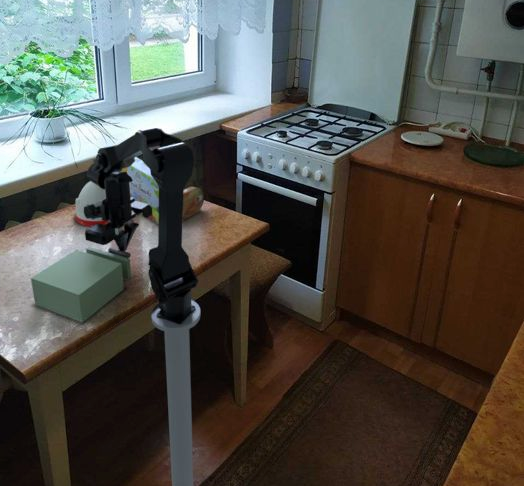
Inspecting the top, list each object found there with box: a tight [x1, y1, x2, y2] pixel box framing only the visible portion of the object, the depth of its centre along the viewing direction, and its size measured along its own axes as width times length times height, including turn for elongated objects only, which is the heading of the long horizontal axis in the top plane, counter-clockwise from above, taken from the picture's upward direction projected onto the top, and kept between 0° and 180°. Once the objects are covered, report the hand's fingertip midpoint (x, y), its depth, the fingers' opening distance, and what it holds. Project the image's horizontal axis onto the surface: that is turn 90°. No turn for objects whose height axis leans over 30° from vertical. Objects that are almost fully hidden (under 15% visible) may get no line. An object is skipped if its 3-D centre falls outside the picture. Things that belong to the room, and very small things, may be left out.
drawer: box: [85, 246, 132, 281], centre depth 118 cm, size 17×12×5 cm
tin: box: [183, 186, 205, 221], centre depth 152 cm, size 15×3×8 cm, turn 147°
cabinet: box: [30, 249, 125, 323], centre depth 112 cm, size 14×14×7 cm
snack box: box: [121, 156, 159, 225], centre depth 152 cm, size 21×6×15 cm, turn 44°
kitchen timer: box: [75, 170, 109, 227], centre depth 149 cm, size 14×14×15 cm
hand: (123, 251), depth 125 cm, fingers closed
